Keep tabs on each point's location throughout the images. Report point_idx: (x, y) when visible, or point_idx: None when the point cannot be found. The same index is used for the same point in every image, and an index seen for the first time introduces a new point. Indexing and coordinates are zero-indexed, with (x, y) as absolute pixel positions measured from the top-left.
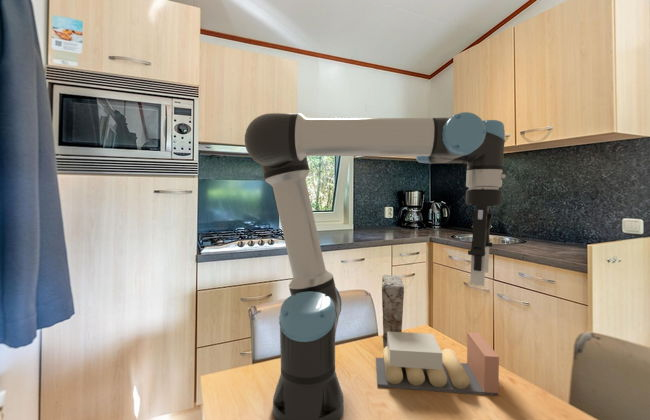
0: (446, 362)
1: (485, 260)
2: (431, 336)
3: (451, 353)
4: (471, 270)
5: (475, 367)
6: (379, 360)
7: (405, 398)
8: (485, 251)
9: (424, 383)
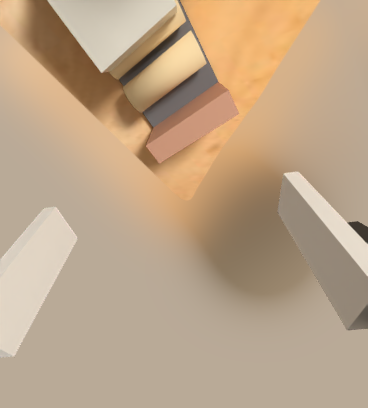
0: (156, 61)
1: (304, 243)
2: (158, 8)
3: (183, 62)
4: (10, 251)
5: (182, 110)
6: None
7: (47, 21)
8: (334, 289)
9: None
